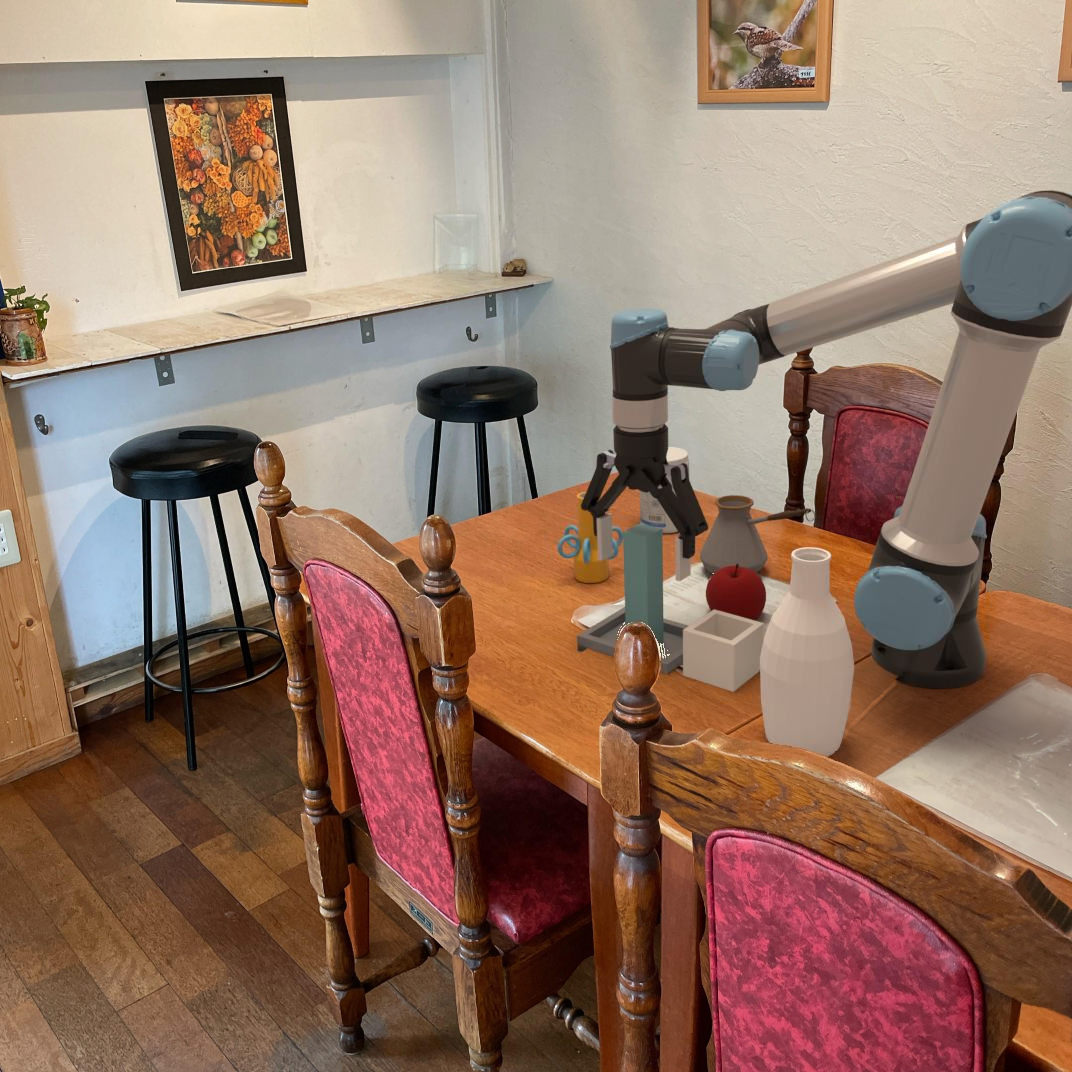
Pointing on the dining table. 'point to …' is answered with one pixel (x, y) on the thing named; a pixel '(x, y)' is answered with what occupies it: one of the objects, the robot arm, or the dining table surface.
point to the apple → (736, 592)
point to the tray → (606, 632)
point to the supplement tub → (650, 506)
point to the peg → (644, 577)
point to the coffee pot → (738, 535)
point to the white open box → (722, 649)
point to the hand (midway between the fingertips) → (643, 567)
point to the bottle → (807, 661)
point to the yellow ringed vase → (587, 547)
